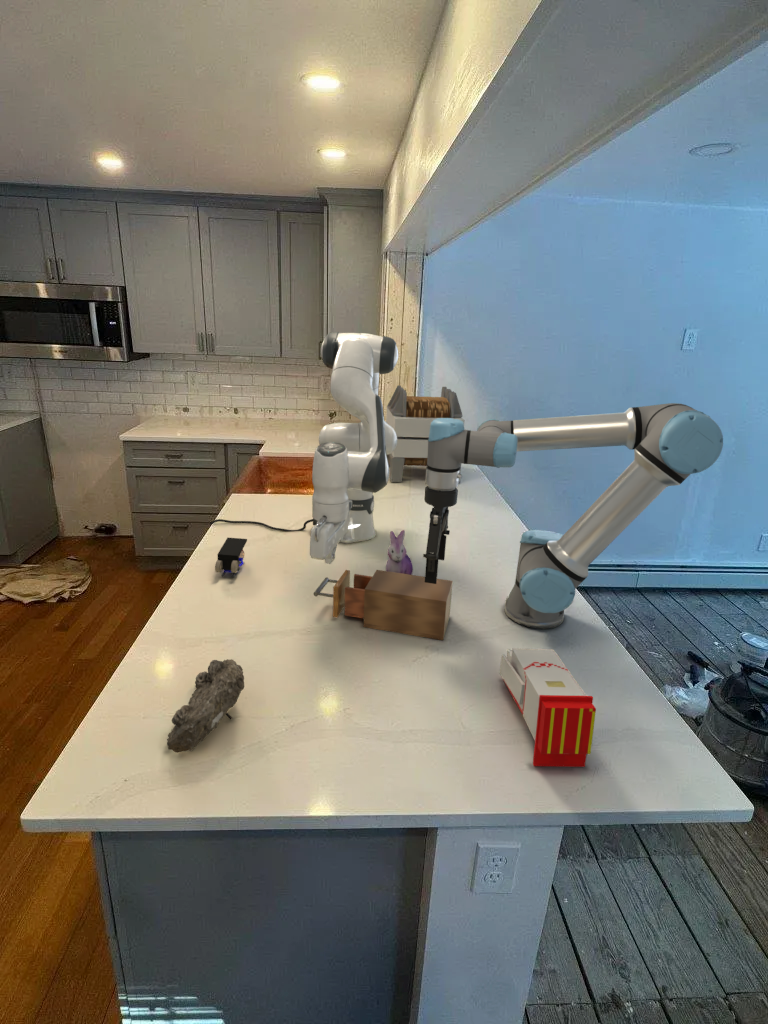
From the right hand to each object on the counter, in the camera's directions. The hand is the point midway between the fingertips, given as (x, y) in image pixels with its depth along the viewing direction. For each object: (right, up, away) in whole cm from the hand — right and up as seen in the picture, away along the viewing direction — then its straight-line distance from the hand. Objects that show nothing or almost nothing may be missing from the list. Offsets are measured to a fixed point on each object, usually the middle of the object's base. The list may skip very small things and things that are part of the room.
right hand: (434, 570), depth 137 cm
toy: (+18, -26, -25) cm, 40 cm away
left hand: (-26, +2, +6) cm, 27 cm away
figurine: (-8, -6, +29) cm, 31 cm away
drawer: (-18, -11, +9) cm, 23 cm away
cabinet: (-6, -14, +7) cm, 17 cm away
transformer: (+5, +33, +138) cm, 142 cm away
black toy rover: (-57, -3, +30) cm, 65 cm away
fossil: (-45, -25, -29) cm, 59 cm away
